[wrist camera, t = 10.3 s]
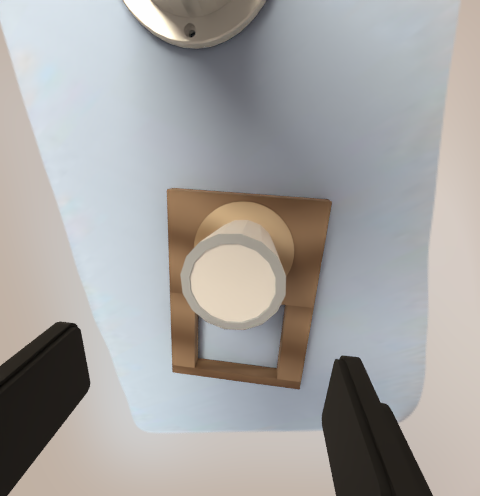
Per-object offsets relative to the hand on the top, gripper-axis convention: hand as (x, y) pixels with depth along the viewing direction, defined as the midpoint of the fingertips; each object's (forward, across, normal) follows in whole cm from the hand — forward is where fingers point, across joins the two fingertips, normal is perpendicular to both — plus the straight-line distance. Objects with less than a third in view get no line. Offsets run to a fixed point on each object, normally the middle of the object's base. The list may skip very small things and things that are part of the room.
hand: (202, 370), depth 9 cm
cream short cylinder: (+14, 0, 0) cm, 15 cm away
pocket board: (+16, 0, +6) cm, 17 cm away
